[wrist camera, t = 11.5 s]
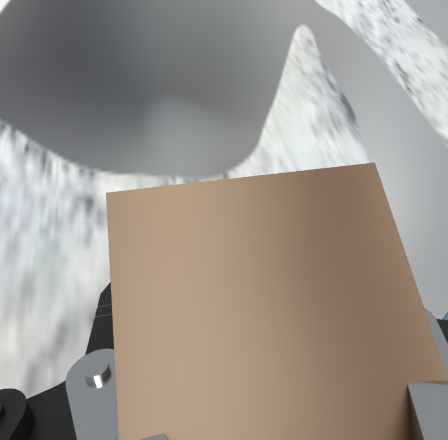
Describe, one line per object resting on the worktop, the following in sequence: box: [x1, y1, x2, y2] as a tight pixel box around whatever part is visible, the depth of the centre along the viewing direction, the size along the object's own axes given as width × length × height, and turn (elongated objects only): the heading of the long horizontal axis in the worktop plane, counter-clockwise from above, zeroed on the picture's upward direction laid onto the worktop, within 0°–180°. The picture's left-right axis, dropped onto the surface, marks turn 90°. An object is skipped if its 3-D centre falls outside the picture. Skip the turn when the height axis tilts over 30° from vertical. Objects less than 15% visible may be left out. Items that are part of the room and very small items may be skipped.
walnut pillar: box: [106, 163, 448, 440], centre depth 11 cm, size 5×5×10 cm
